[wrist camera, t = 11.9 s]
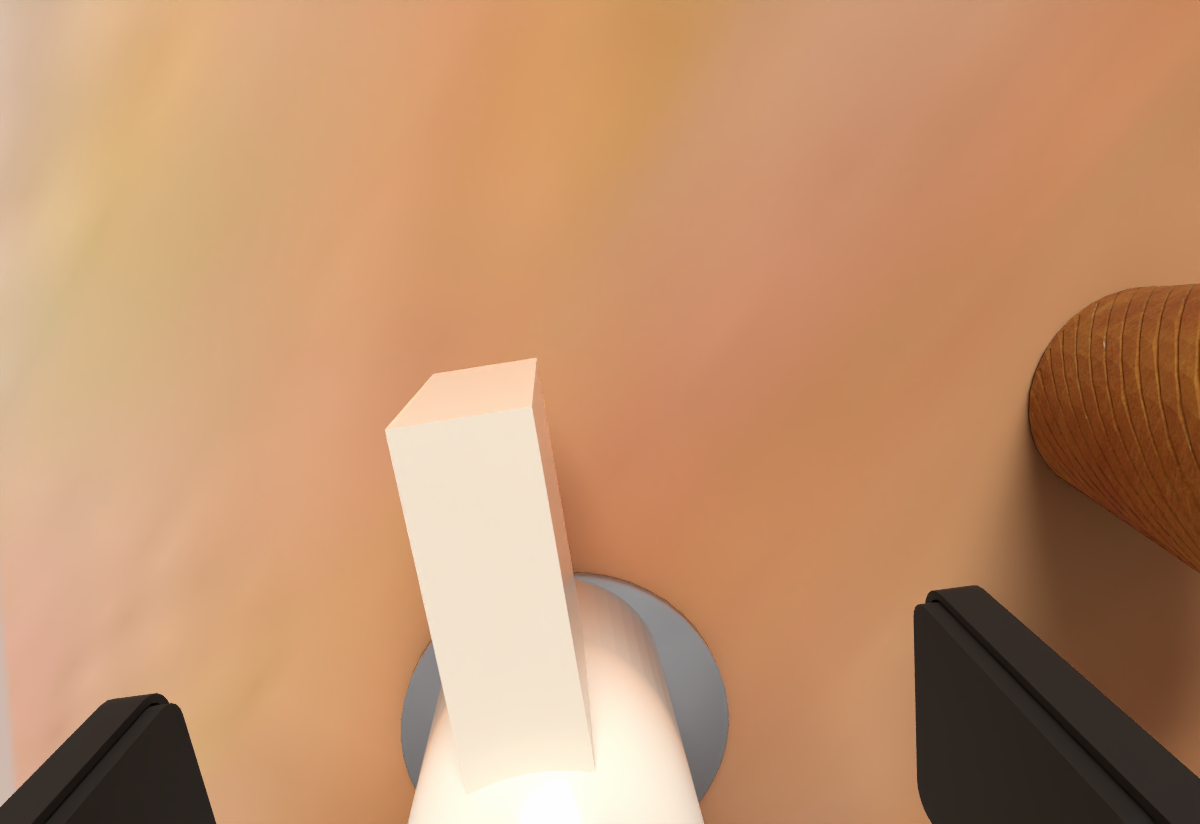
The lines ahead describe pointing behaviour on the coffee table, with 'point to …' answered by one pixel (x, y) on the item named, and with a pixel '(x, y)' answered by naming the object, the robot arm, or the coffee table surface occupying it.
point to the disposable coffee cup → (1128, 411)
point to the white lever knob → (524, 627)
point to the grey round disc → (684, 670)
